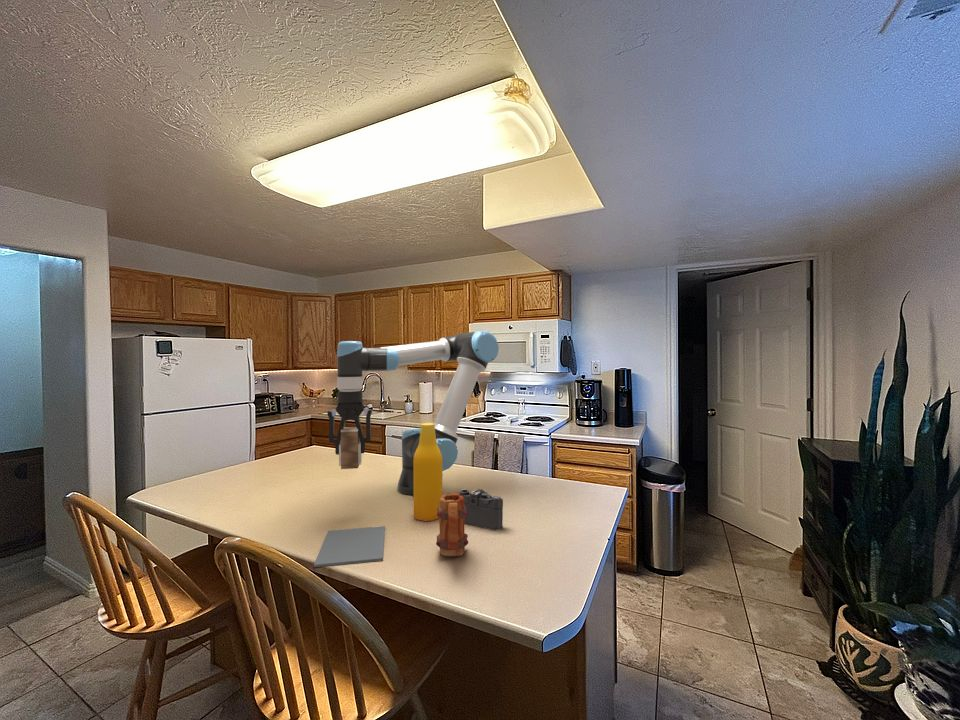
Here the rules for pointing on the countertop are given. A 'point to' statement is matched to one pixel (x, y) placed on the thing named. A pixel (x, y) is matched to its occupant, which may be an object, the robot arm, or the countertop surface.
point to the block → (349, 448)
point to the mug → (452, 525)
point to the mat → (351, 546)
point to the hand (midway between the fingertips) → (350, 464)
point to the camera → (483, 509)
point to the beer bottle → (427, 475)
